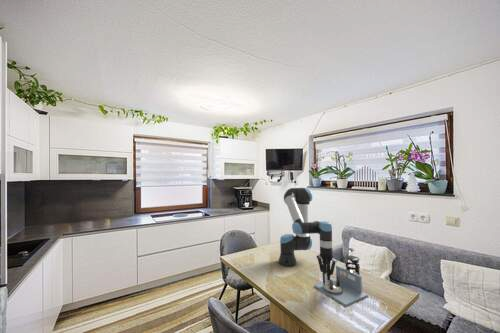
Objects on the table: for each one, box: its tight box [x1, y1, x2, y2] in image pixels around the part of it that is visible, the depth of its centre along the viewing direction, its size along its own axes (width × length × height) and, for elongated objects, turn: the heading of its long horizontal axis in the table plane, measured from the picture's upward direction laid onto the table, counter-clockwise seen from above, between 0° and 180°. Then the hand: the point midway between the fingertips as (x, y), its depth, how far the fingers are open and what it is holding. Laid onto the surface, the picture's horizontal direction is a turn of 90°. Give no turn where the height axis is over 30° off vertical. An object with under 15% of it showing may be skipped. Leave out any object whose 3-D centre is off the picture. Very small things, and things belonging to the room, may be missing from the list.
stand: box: [313, 264, 369, 307], centre depth 128 cm, size 24×20×11 cm
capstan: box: [321, 272, 343, 294], centre depth 128 cm, size 12×12×8 cm
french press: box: [344, 248, 361, 276], centre depth 139 cm, size 12×9×23 cm
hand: (327, 284), depth 126 cm, fingers closed
